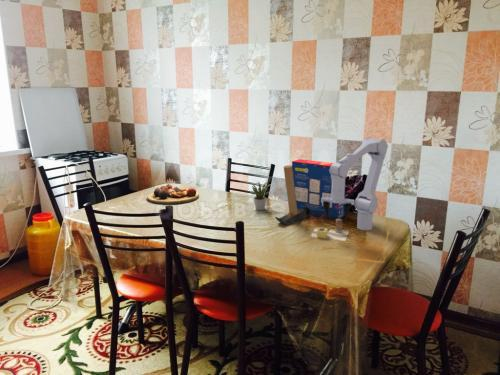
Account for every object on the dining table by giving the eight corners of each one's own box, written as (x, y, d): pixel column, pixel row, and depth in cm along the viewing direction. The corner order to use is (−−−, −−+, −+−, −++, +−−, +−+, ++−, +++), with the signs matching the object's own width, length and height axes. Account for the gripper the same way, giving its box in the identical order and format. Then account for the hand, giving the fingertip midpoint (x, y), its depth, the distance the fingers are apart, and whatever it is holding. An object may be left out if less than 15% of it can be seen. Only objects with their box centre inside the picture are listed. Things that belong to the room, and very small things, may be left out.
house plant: (275, 205, 251) (275, 177, 247) (274, 212, 237) (274, 183, 233) (251, 204, 252) (250, 177, 248) (248, 211, 239) (248, 183, 235)
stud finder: (318, 233, 201) (319, 227, 200) (327, 234, 200) (327, 228, 199) (316, 237, 197) (317, 230, 196) (325, 238, 195) (325, 231, 195)
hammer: (283, 229, 216) (275, 173, 205) (276, 227, 220) (268, 172, 209) (310, 215, 227) (304, 161, 216) (303, 213, 231) (297, 159, 220)
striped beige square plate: (315, 228, 210) (315, 227, 210) (349, 232, 205) (349, 230, 205) (309, 238, 197) (309, 236, 197) (345, 242, 192) (345, 241, 192)
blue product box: (343, 216, 230) (346, 164, 224) (337, 219, 224) (339, 167, 217) (298, 207, 247) (299, 159, 240) (291, 210, 241) (292, 161, 234)
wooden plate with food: (209, 195, 274) (209, 183, 272) (175, 207, 247) (174, 193, 246) (171, 190, 290) (171, 178, 289) (136, 201, 264) (135, 187, 262)
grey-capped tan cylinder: (335, 230, 205) (336, 218, 204) (342, 231, 204) (342, 219, 203) (334, 232, 203) (335, 220, 201) (341, 233, 202) (341, 221, 200)
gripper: (320, 190, 191) (319, 219, 195) (353, 192, 187) (352, 222, 190) (322, 186, 198) (322, 215, 201) (355, 189, 193) (353, 218, 196)
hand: (336, 218), depth 196 cm, fingers open, 7 cm apart
